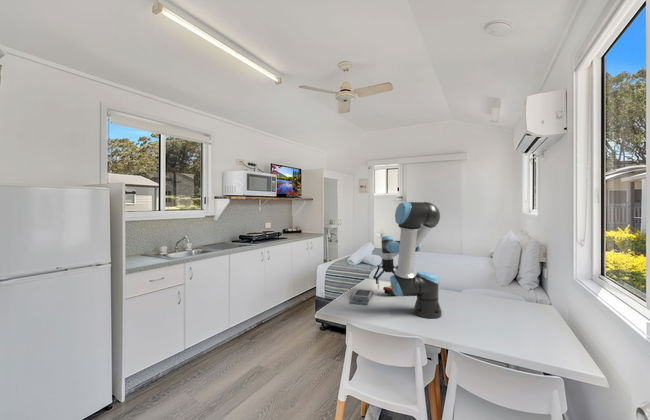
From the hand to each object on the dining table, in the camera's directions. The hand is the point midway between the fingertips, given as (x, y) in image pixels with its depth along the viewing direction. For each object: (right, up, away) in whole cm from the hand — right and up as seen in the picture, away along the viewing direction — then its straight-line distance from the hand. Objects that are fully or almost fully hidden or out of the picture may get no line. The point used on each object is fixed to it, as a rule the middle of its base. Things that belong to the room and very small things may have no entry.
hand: (388, 289), depth 195 cm
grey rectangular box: (-18, -4, -3) cm, 19 cm away
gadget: (-2, -4, -1) cm, 4 cm away
